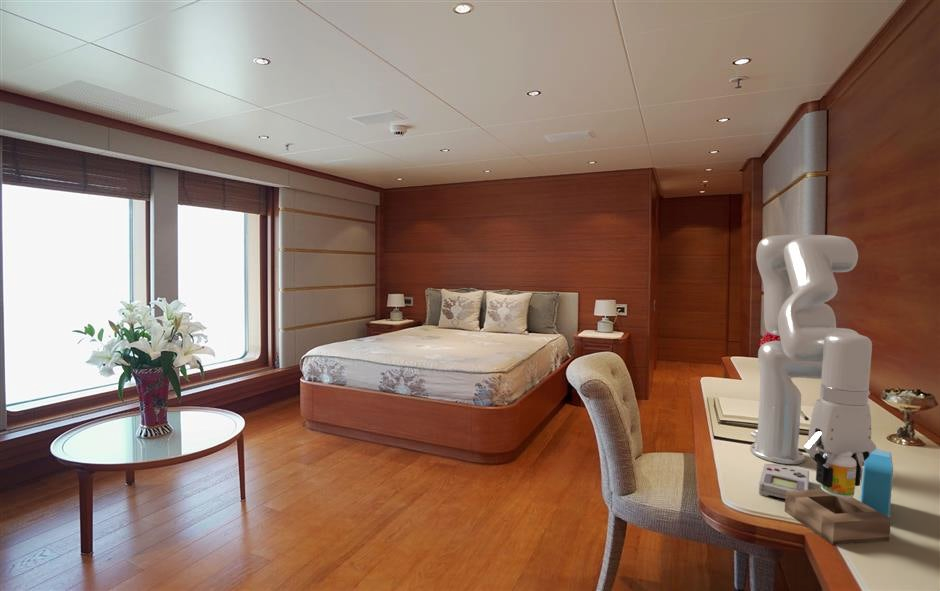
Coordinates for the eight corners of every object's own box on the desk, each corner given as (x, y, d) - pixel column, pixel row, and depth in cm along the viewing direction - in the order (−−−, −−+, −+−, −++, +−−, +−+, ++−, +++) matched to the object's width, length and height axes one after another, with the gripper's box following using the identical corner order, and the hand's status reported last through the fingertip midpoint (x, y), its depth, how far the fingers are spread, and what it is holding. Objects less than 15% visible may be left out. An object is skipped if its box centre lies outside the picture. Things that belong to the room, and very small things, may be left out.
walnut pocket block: (784, 511, 103) (785, 491, 103) (835, 508, 105) (836, 488, 104) (832, 544, 91) (834, 522, 91) (889, 540, 93) (890, 518, 92)
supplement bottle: (814, 487, 99) (817, 442, 98) (833, 484, 101) (836, 439, 100) (841, 500, 94) (844, 452, 93) (860, 496, 95) (864, 449, 95)
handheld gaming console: (809, 468, 117) (808, 493, 105) (808, 482, 117) (807, 509, 105) (765, 459, 122) (759, 481, 110) (764, 472, 123) (758, 496, 110)
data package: (860, 495, 110) (864, 444, 109) (886, 502, 108) (890, 450, 106) (860, 517, 101) (864, 462, 100) (888, 525, 98) (893, 468, 97)
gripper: (864, 389, 100) (858, 473, 102) (789, 391, 98) (784, 477, 100) (900, 400, 93) (893, 490, 94) (820, 402, 91) (814, 494, 92)
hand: (837, 482), depth 97 cm, fingers closed on supplement bottle, 5 cm apart
